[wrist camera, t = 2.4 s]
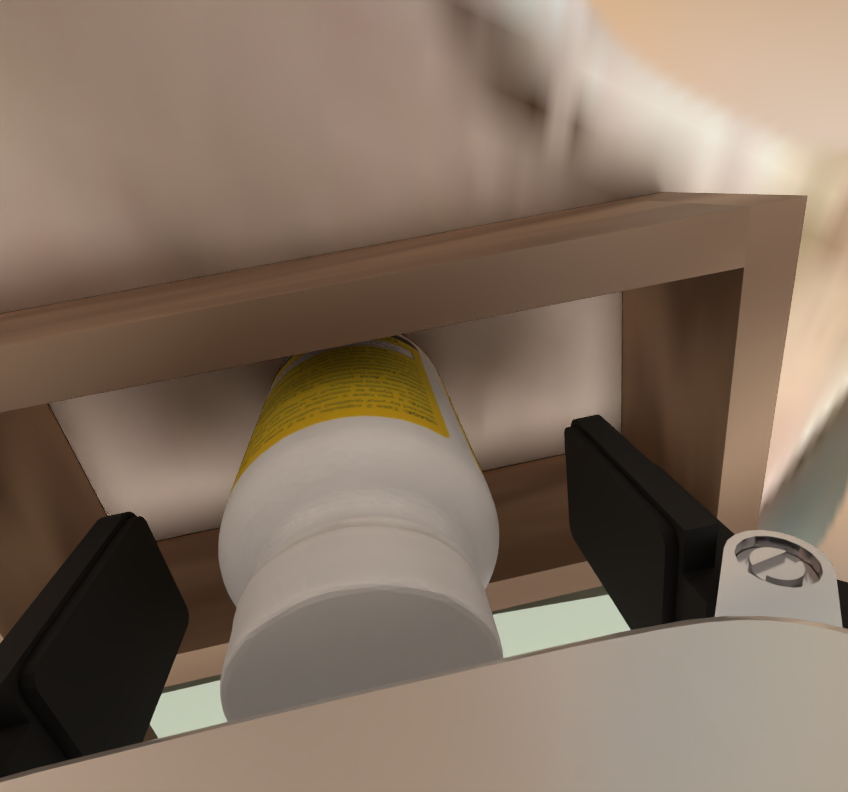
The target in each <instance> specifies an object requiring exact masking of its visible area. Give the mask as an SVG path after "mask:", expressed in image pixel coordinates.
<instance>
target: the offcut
mask: <svg viewBox="0 0 848 792" xmlns="http://www.w3.org/2000/svg"><path fill="white" fill-rule="evenodd" d="M220 679H221V674H219V675H215V676H211V677H206V678H202V679H198V680H194V681H189V682H185V683H181V684H176V685H172V686H168V687H164V689H163V691H162V694H161V696H160V699H159V701H158V704H157V707H156V709H155V712H154V714H153V717H152V719H151V722H150V725H151V727H152V729H153V730H154V732H155V733H156V735H157V737H158V738H162V737H166V736H170V735H175V734H179V733H183V732H187V731H191V730H195V729H200V728H204V727H208V726H212V725H216V724H221V723H225V722H228V721H227V719H226V717H225V715H224V713H223V708H222V703H221V697H220Z"/></svg>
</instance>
